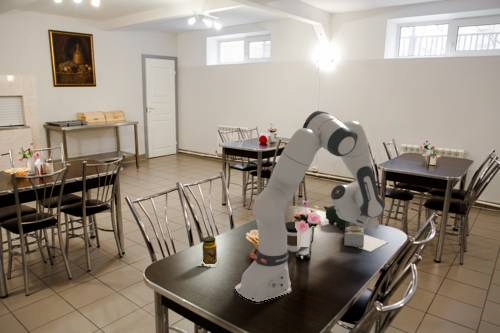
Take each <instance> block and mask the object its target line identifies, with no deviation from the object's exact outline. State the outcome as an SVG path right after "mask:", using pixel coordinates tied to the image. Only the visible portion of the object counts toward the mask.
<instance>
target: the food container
mask: <svg viewBox="0 0 500 333" xmlns="http://www.w3.org/2000/svg"><path fill="white" fill-rule="evenodd" d="M316 226H317V225H316ZM316 226H313V227H312V242H311V243H313V241H314V236H315V228H316Z"/></svg>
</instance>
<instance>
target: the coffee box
mask: <svg viewBox="0 0 500 333" xmlns="http://www.w3.org/2000/svg"><path fill="white" fill-rule="evenodd" d="M364 231H365V229H363V228H360V227H359V226H358V225H356V224H354V223H346V225H345V231H344V239H343V240H344V242H343V243H344V246H347V247H349V246H350V247H355V246H358V247H364V235H365V232H364Z"/></svg>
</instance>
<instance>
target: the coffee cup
mask: <svg viewBox="0 0 500 333" xmlns="http://www.w3.org/2000/svg"><path fill="white" fill-rule="evenodd" d="M295 222H296V221H287V222H285V226H286V229H287V249H288V252H293V253H296V252H298V251H297V231H296V228H295Z"/></svg>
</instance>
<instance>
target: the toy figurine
mask: <svg viewBox="0 0 500 333" xmlns="http://www.w3.org/2000/svg"><path fill="white" fill-rule="evenodd" d="M334 207H335V205H330V206H325V205H324V206H323V208H324V210H325V219H326V220H328V221H327V222H328V224H330V226H332V225H334V224H335V227H336V228H338V229H339V228H340V227H342V230H343V231H344V232H345V225H346V223H351V222H348V221H345V220H342V219H340V218H339V217H338V215H337V214H336V210H335V208H334Z"/></svg>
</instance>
